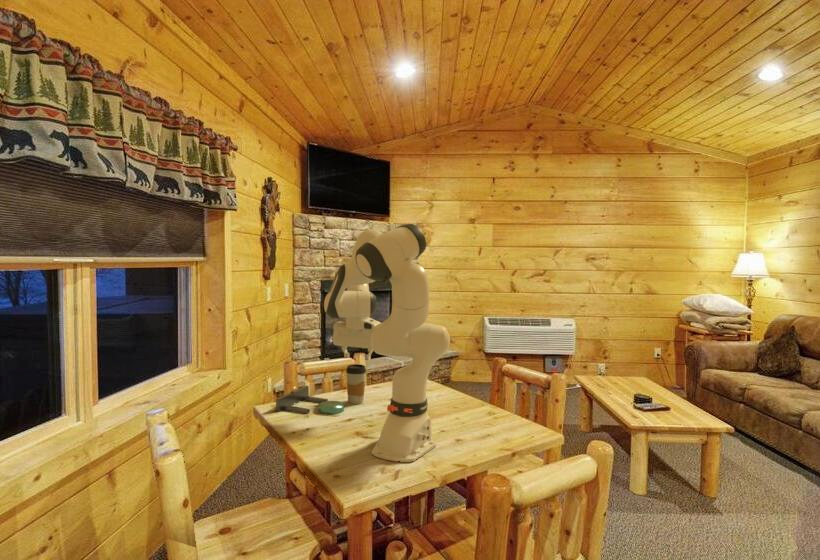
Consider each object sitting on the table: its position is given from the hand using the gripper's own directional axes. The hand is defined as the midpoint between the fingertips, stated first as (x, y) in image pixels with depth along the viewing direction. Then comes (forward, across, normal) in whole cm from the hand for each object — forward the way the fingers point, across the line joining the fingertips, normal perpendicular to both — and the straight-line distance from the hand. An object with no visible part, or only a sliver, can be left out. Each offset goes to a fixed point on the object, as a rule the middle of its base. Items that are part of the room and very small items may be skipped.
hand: (357, 358), depth 173 cm
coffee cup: (+22, -7, +13) cm, 26 cm away
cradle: (+21, -23, 0) cm, 32 cm away
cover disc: (+22, -11, 0) cm, 24 cm away
